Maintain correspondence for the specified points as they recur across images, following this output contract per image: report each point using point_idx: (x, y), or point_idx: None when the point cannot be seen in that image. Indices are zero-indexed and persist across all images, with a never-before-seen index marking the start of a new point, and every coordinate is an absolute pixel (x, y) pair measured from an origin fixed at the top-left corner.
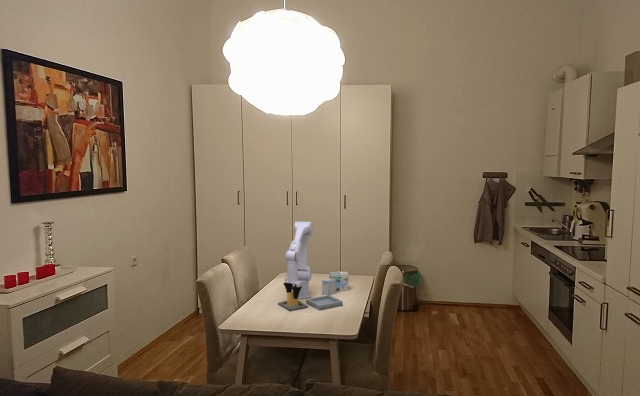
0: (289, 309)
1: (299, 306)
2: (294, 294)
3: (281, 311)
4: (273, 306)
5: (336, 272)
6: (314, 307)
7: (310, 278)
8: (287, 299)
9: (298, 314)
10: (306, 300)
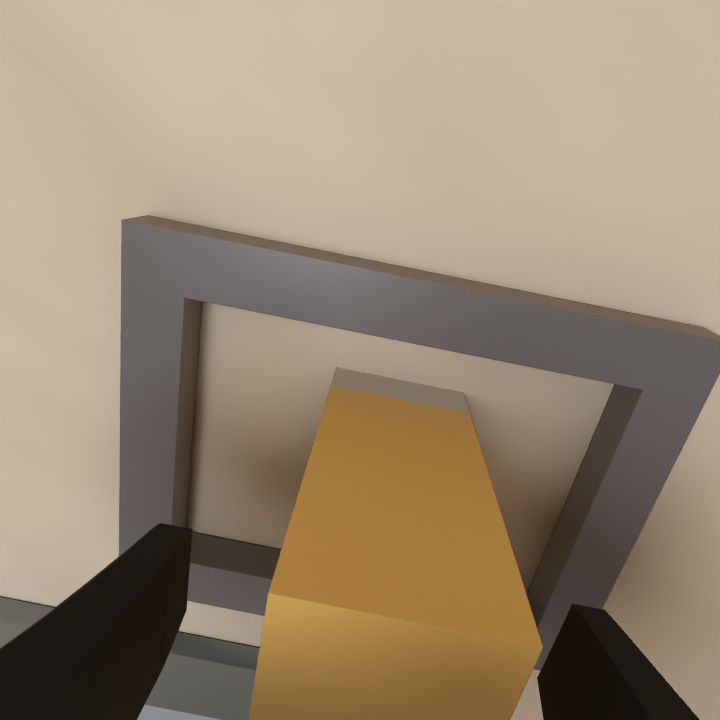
0: (147, 223)
1: (169, 475)
2: (20, 638)
3: (268, 69)
4: (705, 164)
5: None
6: None
7: None
8: (468, 471)
9: None
10: None
